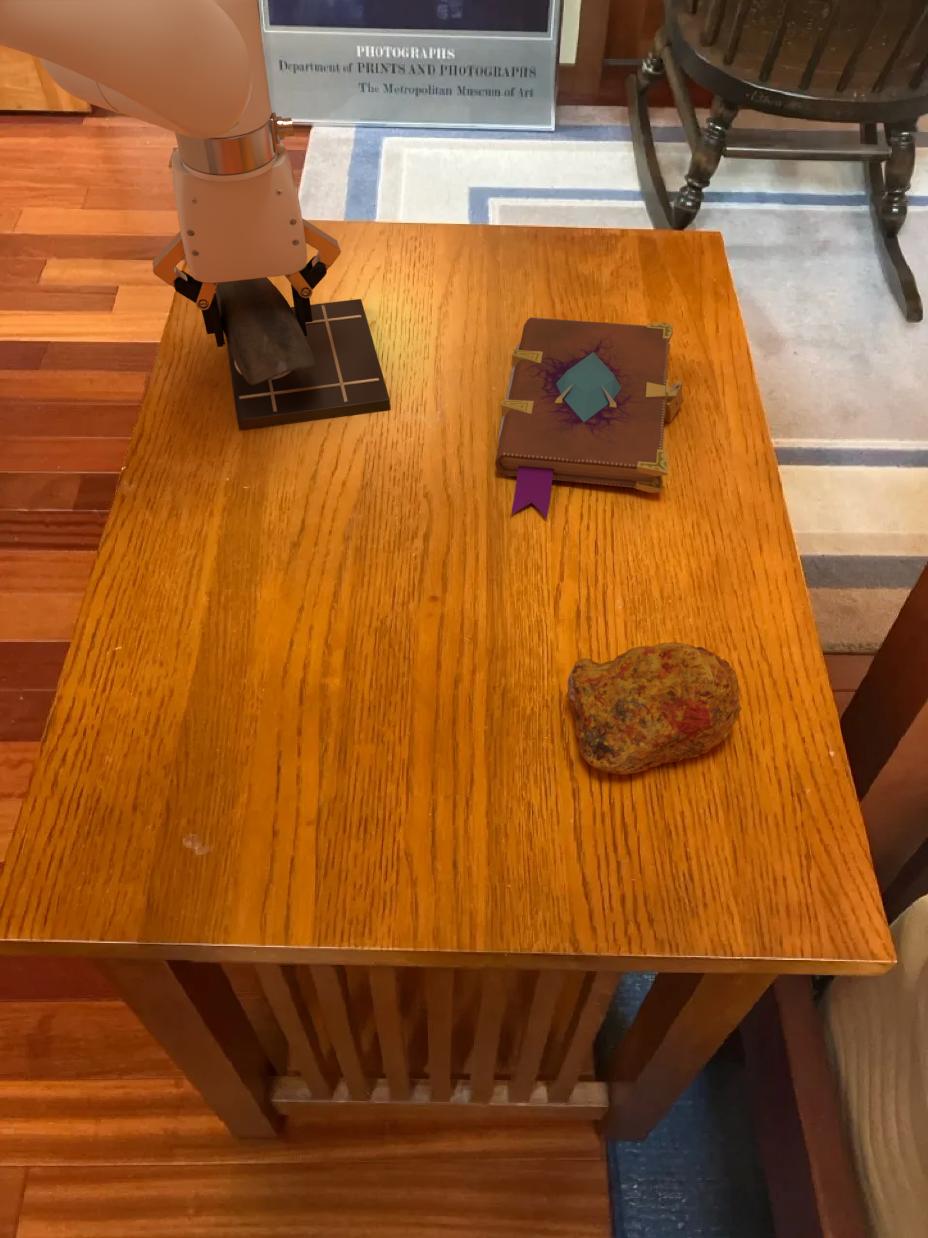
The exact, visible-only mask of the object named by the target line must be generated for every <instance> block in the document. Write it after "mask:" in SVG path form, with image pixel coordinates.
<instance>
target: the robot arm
mask: <svg viewBox="0 0 928 1238" xmlns="http://www.w3.org/2000/svg"><path fill="white" fill-rule="evenodd" d="M0 46H3V47H5V48H9V49H12V50H14V51H18V52H21V53H25V54H27V55H31V56H32V57H36V58H38V59H39V61H40V63H41V65H42V68H43V69H44V70H45V71H46V73H47V75H48V76H49V77H50V78H51V80H53V82H54V83H55V84H56V85H58V87H60V88H61V89H62V90H64V91H65V92H67V93H68V94H69V95H70V96H72V97H74V98H76V99H78V100H80V101H84V102H86V103H87V104H90V105H93V106H96V107H98V108H102V109H104V110H108V111H110V112H113V113H117V114H119V115H122V116H126V117H129V118H134V119H136V120H139V121H141V122H144V123H148V124H151V125H154V126H157V127H160V128H162V129H165V130H168V131H170V132H173V133H174V136H175V139H176V144H177V148H176V150H174V151H173V153H172V154H171V177H172V188H173V189H172V190H173V195H174V203H175V208H176V215H177V221H178V225H179V231H178V232H177V234H176V235H175V236H174V237H173V238H172V239H171V240H170V241H169V242H168V244H166V245H165V246H164V248H163V249H162V250H161V251H160V252H159V253H158V254H157V255H156V257H154V259H153V260H152V272H153V274H154V275H155V276H156V277H157V278H159V279H160V280H161V281H163V282H164V283H166V284H167V285H168V286H171V287H172V288H174V290H175V291H176V293H178V294H180V295H182V296H183V297H184V298H186V299H188V300H190V301H191V302H193V303H194V304H195V305H196V307H197V309H199V310H201V313H202V314H201V315H202V319H203V322H204V323H203V324H204V326H205V330H206V335H214V337H215V342H216V347H217V348H221V347H224V345H226V338H225V334H224V331H223V326H222V321H221V316H220V311H219V307H218V302H217V297H216V293H215V290H216V288H217V285H218V283H220V282H230V281H239V280H248V279H257V278H266V277H267V278H272V277H274V278H275V277H281V276H284V277H285V278H286V279H287V280H288V282H289V283H290V289H291V295H292V303H293V307H294V310H295V316H296V318H297V320H298V323H299V325H300V327H301V329H302V331H303V333H304V335H305V336H307V330H306V323H307V322H313V321H312V313H311V305H312V304H311V296H313V292H314V291H313V290H314V289H315V288H316V287H317V286H318V284H319V283H320V282H321V281H322V280H323V279H324V278H325V277H326V276H327V273H328V270H329V269H330V268H332V266H333V265H334V263H335V262H336V261H337V259H338V258H339V257H340V255H341V253H342V251H341V247H340V246H341V245H340V243H339V241H338V240H337V239H336V238H334V237H333V236H331V235H329V234H328V233H326V232H325V231H323V230H322V229H320V228H318V227H317V226H316V225H314V224H312V223H311V222H309V221H307V220H306V219H304V218H303V214H302V209H301V203H300V199H299V194H298V188H297V182H296V179H295V175H294V169H293V167H292V163H291V160H290V159H291V158H290V156H289V153H288V151H287V147H286V145H285V144H284V143H283V142H282V141H281V140H285V139H286V138H290V137H292V138H293V137H295V132H294V124H293V119H292V117H282V116H280V115H279V116H277V113H276V112H272V103H271V96H270V87H269V81H268V74H267V66H266V58H265V57H266V56H265V51H264V50H265V49H264V45H263V36H262V29H261V22H260V14H259V6H258V0H0ZM307 245H308V246H309V247H312V248H314V249H315V250H317V253H316V255H314V256H312V257H311V259H310V260H309V261H308V249H307ZM184 258H185V260H186V264H187V268H188V271H189V273H190V274H189V273H188V272H186V271H184V270H181V269H179V268H178V267H177V265H179V263H180V262H181V261H182V260H183V259H184Z"/></svg>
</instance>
